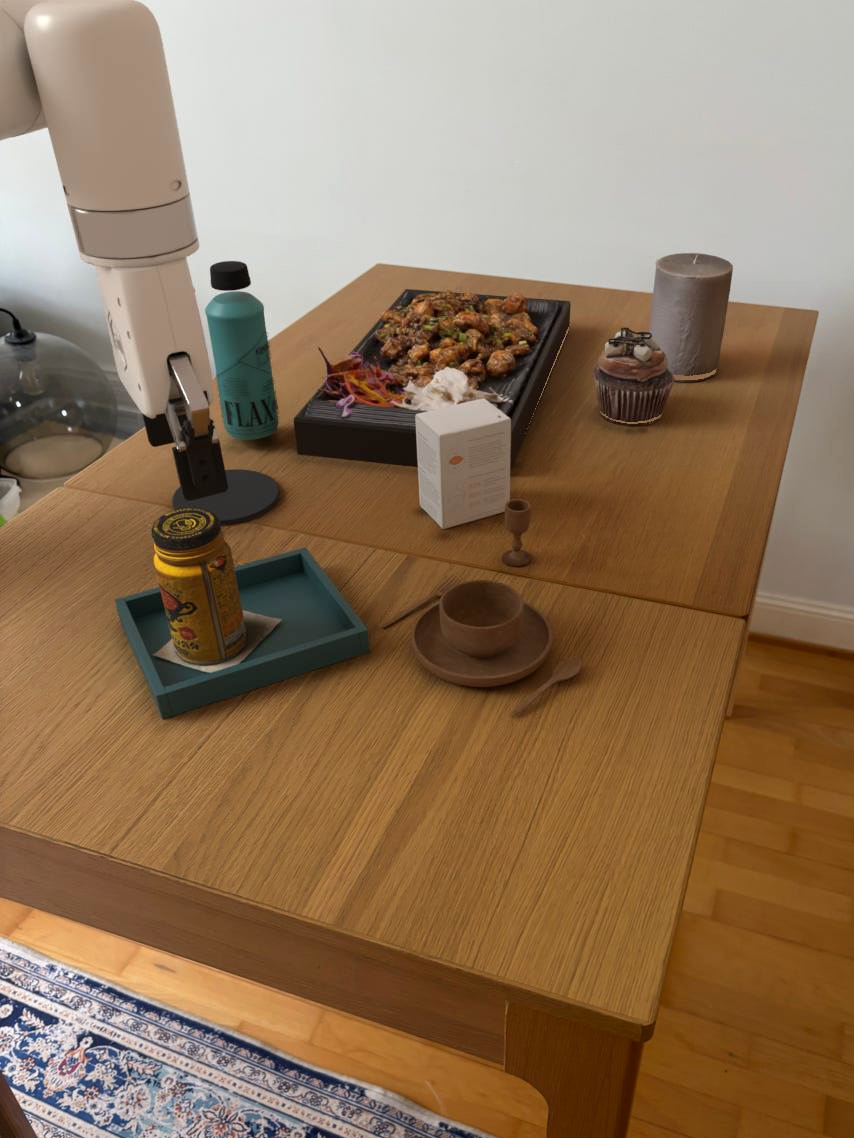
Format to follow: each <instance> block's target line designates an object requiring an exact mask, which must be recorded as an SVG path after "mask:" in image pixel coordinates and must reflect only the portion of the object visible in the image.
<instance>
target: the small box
mask: <svg viewBox="0 0 854 1138" xmlns="http://www.w3.org/2000/svg"><path fill="white" fill-rule="evenodd" d="M415 421H416V440H417V461H418V467H417V478H418V496H419V506H420V508H421V509H422V510H423V511H425V513H426V514H428V516H429V517H430V518H431V519H432V520H433V521H434V522H435V523H436V524H437V525H438V526H439V527H440V528H441V529H442V530H446V529H449V528H452V527H455V526H460V525H464V524H468V523H470V522H474V521H478V520H481V519H484V518H488V517H491V516H495V515H498V514H501V513H505V504H506V502H508V501H509V500H511V472H510V449H511V419H510V418H509V417H508V416H506V415H505V414H504V413H503V412H501V411H500V410H499V409H497V408H496V407H495V406H494V405H492V404H491V403H490V402H488V401H487V400H486V399H484V398H482V399H478V400H474V401H470V402H466V403H461V404H457V405H453V406H448V407H444V408H440V409H436V410H432V411H427V412H423V413H418V414H416V415H415Z"/></svg>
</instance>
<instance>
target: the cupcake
mask: <svg viewBox="0 0 854 1138" xmlns="http://www.w3.org/2000/svg"><path fill="white" fill-rule="evenodd" d="M635 335H637V336H635ZM667 363H668V362H667V357H666V354H665V353H664V352H663V351H661V349H660V347H659V344H658V343H657V342H656V341H655V340H654V339H653V338H652V334H651V333H650V332H649V331H634V330H631V329H630V328H629V327H628V326H627V327H626V326H624V327H621V328H620V331H618V332H617V333H615V336H614V338H609V339H608V341H607V342H606V343H605V344H604V349H603V350H602V352H601V353H600V355H599V357H598V360H597V362H596V364H595V366H594V368H593V379H594V385H595V389H596V396H597V404H598V405H597V406H598V411H599V410H600V411H601V412H602V413H603V414H606V416H608V417H609V418H612V419H613V420H614V419H615V420H621V421H625V422H638V421H645V420H646V421H647V420H649V419H652V418H654V417H658V416H659V415H661V414H664V412H665V409H666V407H667V402H668V399H669V396H670V393H671V390H672V387H673V385H674V382H675V381H674V379H675V378H674V376H673V374H671V372H670V370H669V369H667V366H668V364H667ZM600 411H599V415H600V417H601V418H602V419H604V420H605V421H607V422H610V423H612V424H616V425H621V426H624V427H625V426H626V427H643V426H648V425H652V424H654V423H656V422H658V421H660V420H661V418H662V417H663V415H662V416H661V417H660V418H658V419H656V420H654V421H651V422H647V423H638V424H627V423H621V422H616V421H613V420H610V419H609V418H606V417H605V416H603V415H602V414H601V413H600Z"/></svg>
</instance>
